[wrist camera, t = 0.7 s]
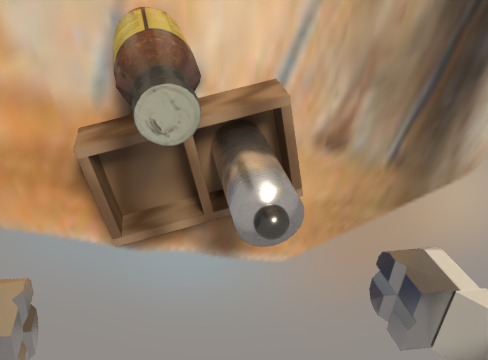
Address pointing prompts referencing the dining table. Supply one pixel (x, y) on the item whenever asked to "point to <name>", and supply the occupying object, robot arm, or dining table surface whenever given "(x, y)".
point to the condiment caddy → (178, 164)
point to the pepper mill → (255, 185)
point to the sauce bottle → (157, 76)
